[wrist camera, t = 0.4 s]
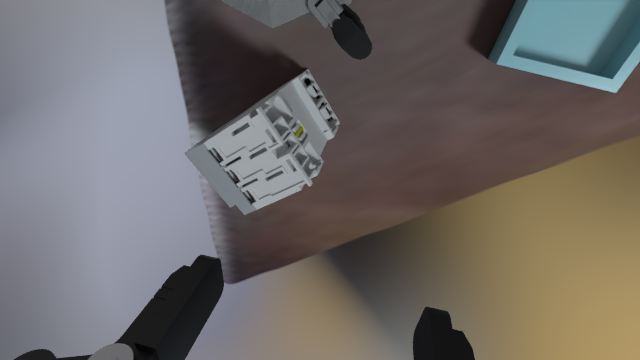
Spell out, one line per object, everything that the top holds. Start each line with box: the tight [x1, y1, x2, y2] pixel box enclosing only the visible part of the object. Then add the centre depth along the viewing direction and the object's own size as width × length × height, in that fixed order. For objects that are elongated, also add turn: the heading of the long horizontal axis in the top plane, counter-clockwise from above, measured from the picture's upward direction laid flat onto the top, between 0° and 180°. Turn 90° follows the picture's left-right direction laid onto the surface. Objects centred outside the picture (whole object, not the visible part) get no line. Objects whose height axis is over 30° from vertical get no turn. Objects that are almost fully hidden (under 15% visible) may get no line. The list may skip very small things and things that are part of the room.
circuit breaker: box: [185, 69, 340, 215], centre depth 33 cm, size 8×14×15 cm, turn 122°
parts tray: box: [488, 0, 640, 93], centre depth 26 cm, size 11×11×3 cm
